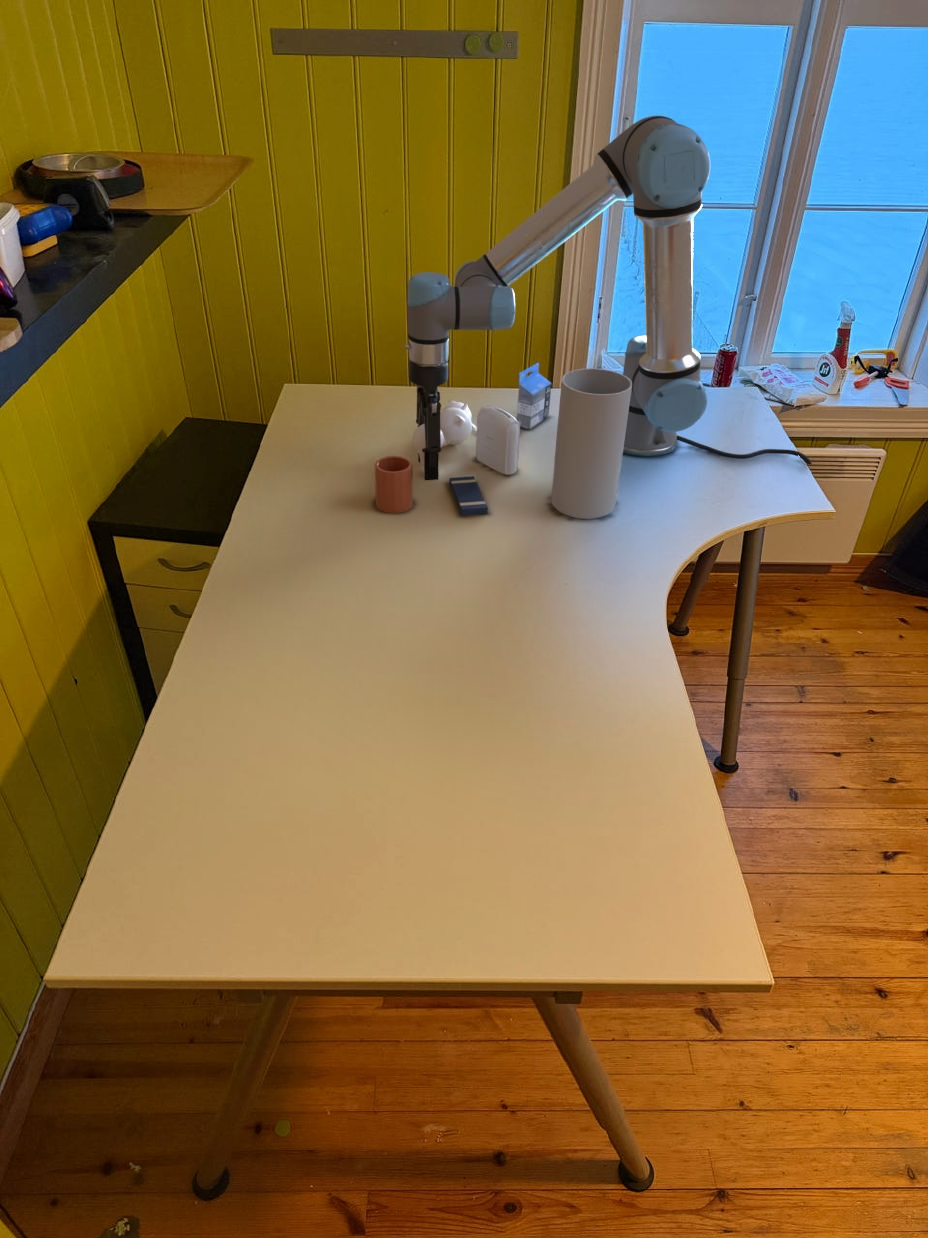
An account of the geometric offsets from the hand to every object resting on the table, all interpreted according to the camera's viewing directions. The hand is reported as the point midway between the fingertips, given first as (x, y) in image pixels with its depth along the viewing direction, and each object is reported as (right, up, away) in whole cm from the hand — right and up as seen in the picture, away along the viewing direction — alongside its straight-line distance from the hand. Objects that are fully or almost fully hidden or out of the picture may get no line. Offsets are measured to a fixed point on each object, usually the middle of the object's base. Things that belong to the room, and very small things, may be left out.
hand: (428, 470), depth 185 cm
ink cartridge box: (+23, +15, +23) cm, 36 cm away
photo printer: (+14, +2, +5) cm, 15 cm away
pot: (-6, -8, -9) cm, 14 cm away
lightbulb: (0, -1, +1) cm, 1 cm away
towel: (+8, -7, -7) cm, 13 cm away
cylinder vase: (+30, -8, -8) cm, 32 cm away
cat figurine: (+6, +9, +15) cm, 18 cm away
